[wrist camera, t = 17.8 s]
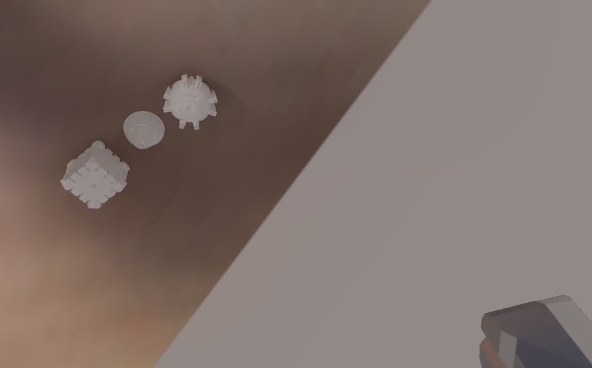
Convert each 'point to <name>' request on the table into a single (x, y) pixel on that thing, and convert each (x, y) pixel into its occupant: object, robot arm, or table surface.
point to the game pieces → (136, 142)
